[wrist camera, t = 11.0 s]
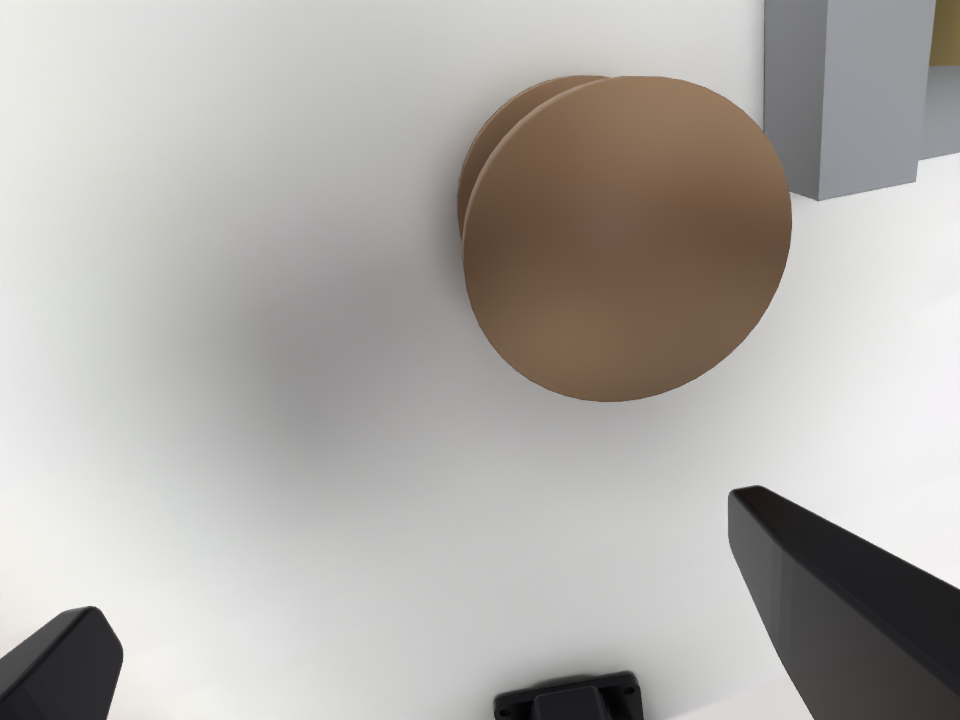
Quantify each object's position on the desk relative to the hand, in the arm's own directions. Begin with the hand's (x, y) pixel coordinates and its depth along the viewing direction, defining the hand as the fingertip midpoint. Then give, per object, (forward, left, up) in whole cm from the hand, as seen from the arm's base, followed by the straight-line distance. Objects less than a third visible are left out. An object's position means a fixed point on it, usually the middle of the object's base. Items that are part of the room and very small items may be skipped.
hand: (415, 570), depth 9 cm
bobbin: (+2, -5, -12) cm, 13 cm away
